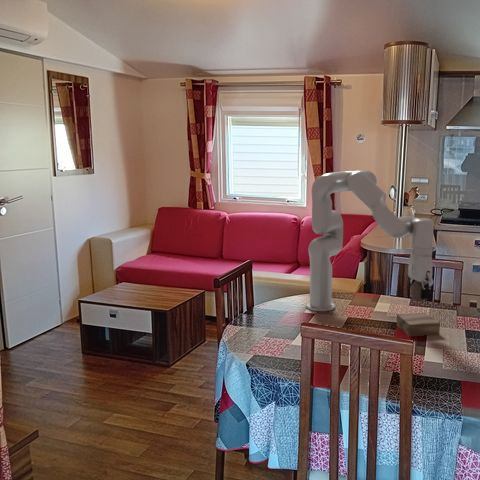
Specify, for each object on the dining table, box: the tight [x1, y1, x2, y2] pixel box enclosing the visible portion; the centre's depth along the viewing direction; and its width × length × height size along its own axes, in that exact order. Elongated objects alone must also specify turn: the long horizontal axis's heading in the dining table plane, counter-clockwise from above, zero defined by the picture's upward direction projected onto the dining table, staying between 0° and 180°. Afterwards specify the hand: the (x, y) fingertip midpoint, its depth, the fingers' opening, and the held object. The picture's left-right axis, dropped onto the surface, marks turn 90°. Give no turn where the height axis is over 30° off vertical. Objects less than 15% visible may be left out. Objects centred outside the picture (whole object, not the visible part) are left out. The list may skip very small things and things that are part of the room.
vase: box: [409, 281, 427, 302], centre depth 209 cm, size 7×7×9 cm
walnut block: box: [396, 312, 441, 337], centre depth 212 cm, size 12×12×5 cm
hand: (419, 295), depth 209 cm, fingers closed on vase, 6 cm apart
